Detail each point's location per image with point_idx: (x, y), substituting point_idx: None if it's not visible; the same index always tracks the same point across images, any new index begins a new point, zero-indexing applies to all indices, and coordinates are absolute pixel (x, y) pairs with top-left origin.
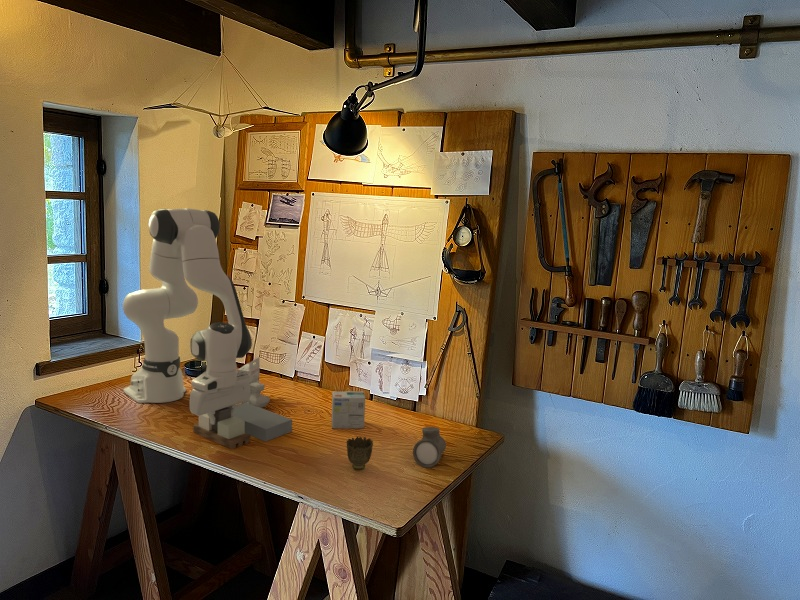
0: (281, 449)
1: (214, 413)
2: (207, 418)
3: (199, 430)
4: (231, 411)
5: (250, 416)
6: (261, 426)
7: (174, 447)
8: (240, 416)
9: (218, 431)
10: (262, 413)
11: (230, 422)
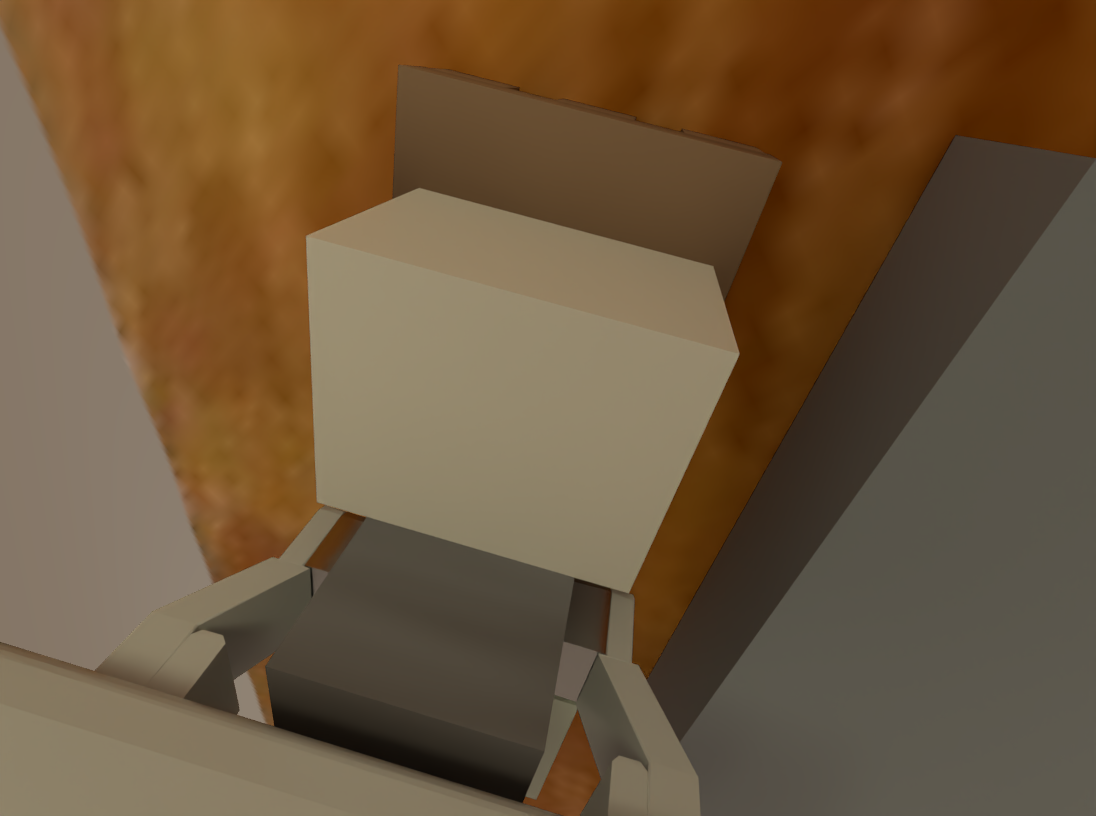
0: (579, 777)
1: (227, 711)
2: (322, 466)
3: None
4: (592, 741)
5: (900, 678)
6: None
7: (77, 200)
8: (859, 597)
9: None
10: (1063, 742)
11: None
